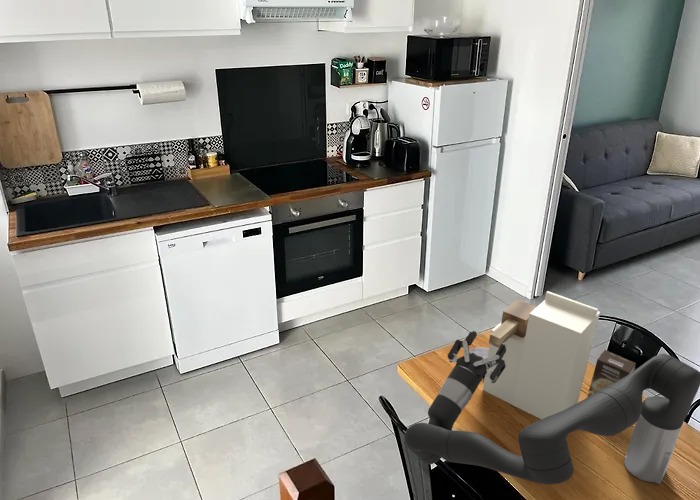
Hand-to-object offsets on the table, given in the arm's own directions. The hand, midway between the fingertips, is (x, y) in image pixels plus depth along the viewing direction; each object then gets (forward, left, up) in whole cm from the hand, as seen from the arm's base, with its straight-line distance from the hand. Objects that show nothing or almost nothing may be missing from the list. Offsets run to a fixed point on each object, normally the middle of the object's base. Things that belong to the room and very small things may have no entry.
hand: (489, 338), depth 143 cm
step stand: (-7, -19, -27) cm, 34 cm away
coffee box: (-25, -31, -27) cm, 48 cm away
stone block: (+11, -23, -28) cm, 38 cm away
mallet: (0, -13, -5) cm, 14 cm away
